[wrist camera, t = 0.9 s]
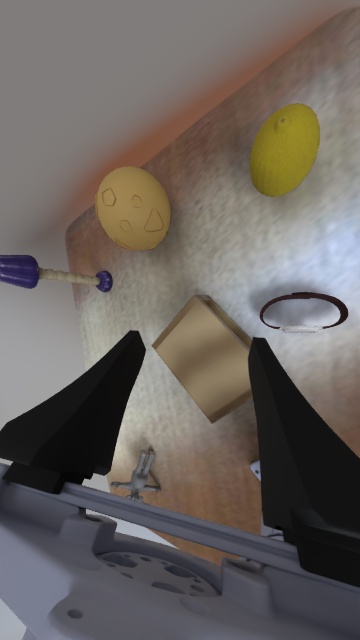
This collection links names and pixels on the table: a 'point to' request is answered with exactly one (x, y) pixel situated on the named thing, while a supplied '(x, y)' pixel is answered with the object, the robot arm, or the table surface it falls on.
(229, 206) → the table surface
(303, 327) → the watch
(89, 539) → the robot arm
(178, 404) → the table surface
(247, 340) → the shelf
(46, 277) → the toy lamp
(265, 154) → the lemon
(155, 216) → the stress ball
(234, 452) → the table surface
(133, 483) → the gray toy figurine
